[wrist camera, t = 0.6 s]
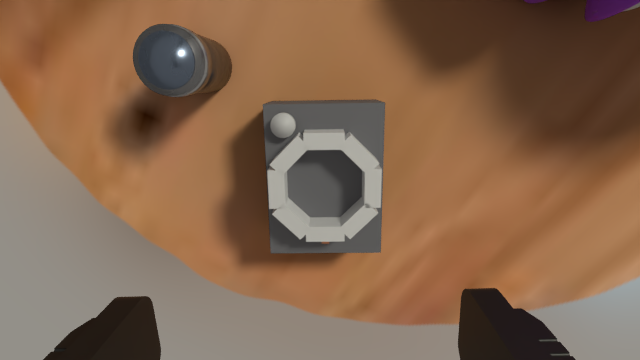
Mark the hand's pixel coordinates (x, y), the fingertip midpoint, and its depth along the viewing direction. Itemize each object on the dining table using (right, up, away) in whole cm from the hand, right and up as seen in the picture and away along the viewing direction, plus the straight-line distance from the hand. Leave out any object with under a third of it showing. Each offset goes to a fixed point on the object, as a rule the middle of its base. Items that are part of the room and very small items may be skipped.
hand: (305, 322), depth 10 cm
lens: (-9, +13, +22) cm, 27 cm away
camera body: (+1, +5, +24) cm, 24 cm away
